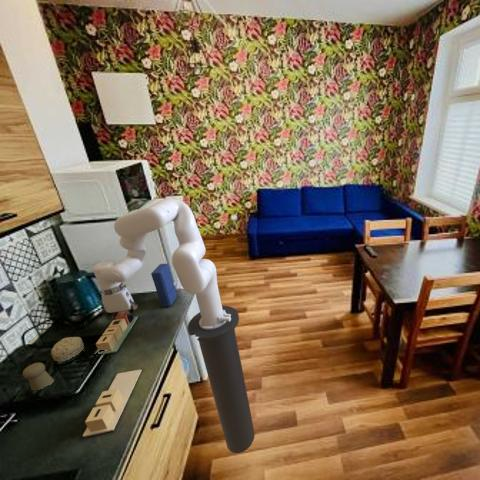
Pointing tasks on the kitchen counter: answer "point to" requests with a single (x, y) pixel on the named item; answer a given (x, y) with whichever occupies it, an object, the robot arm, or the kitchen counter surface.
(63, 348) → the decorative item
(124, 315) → the letter block
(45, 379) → the cork
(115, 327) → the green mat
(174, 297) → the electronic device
